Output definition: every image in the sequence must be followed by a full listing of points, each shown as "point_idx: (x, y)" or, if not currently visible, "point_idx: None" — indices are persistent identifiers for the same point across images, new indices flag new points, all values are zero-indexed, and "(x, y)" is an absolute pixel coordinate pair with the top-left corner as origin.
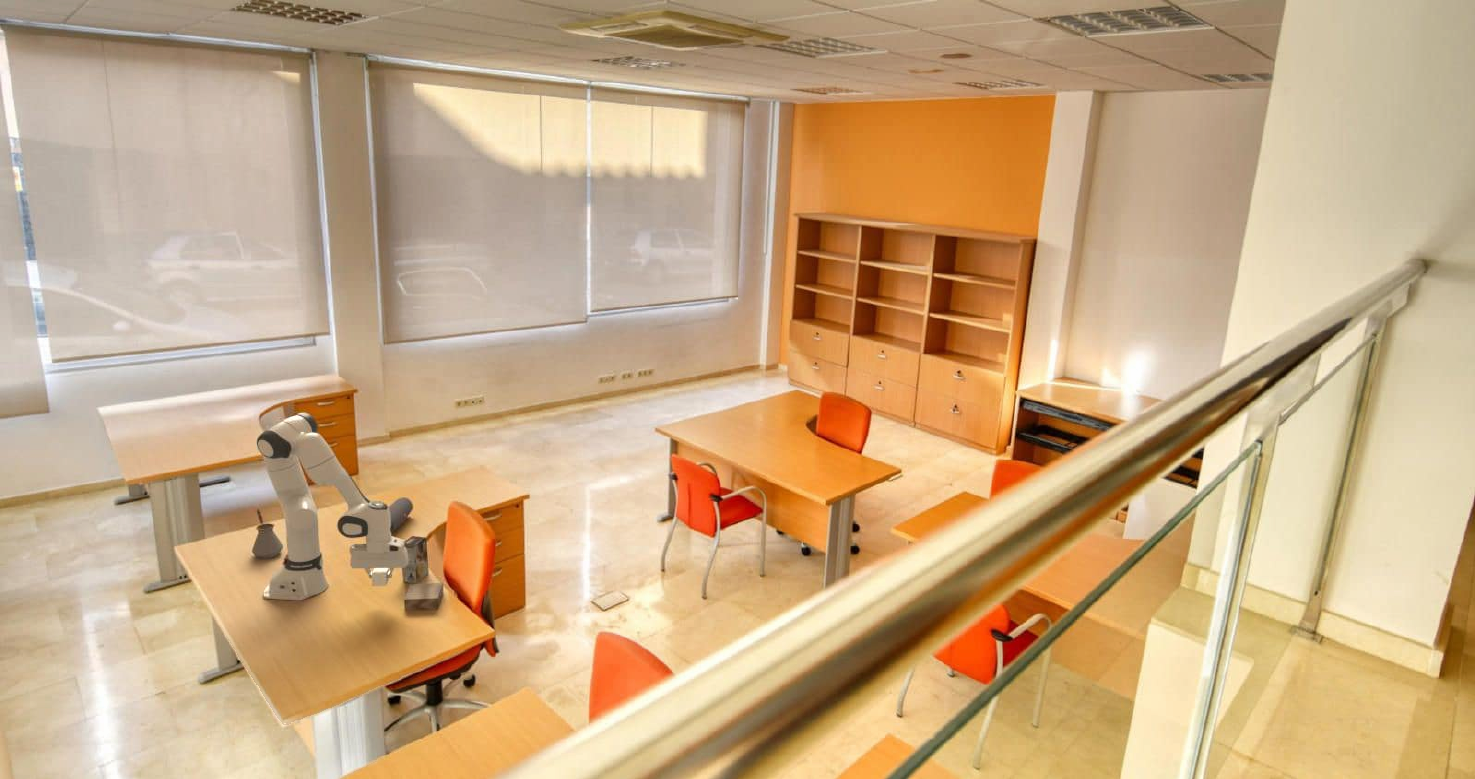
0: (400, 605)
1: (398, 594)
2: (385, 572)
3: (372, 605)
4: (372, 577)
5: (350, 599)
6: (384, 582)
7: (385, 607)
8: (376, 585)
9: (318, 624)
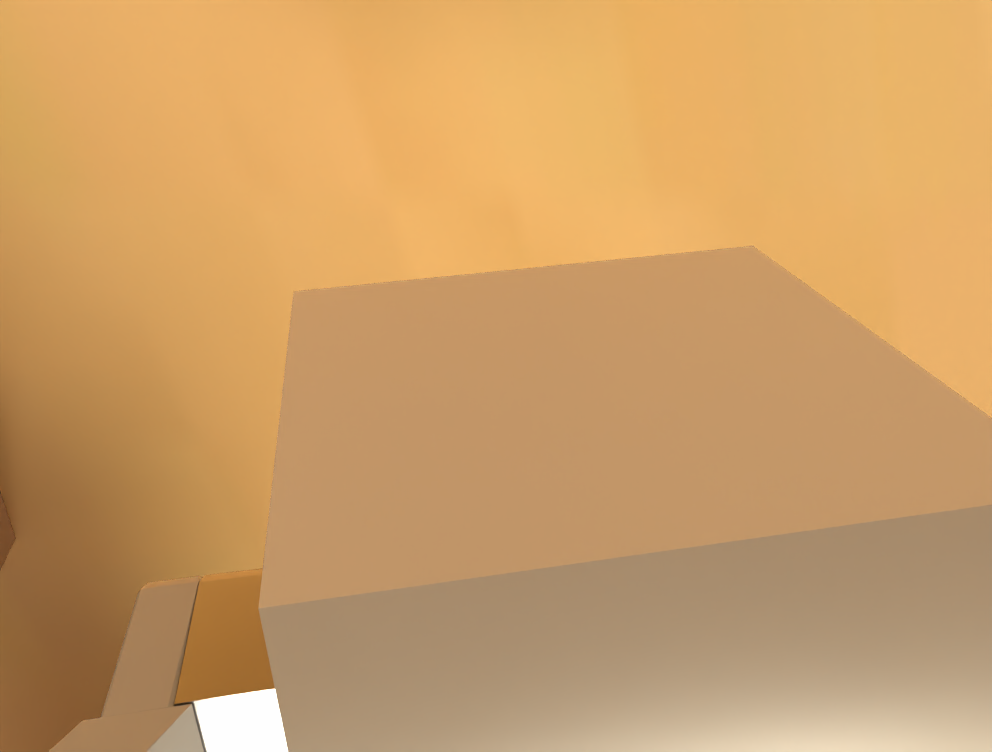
0: (44, 163)
1: (252, 531)
2: (326, 719)
3: (589, 169)
4: (909, 382)
5: (948, 355)
6: (350, 336)
7: (326, 88)
8: (619, 265)
9: None
